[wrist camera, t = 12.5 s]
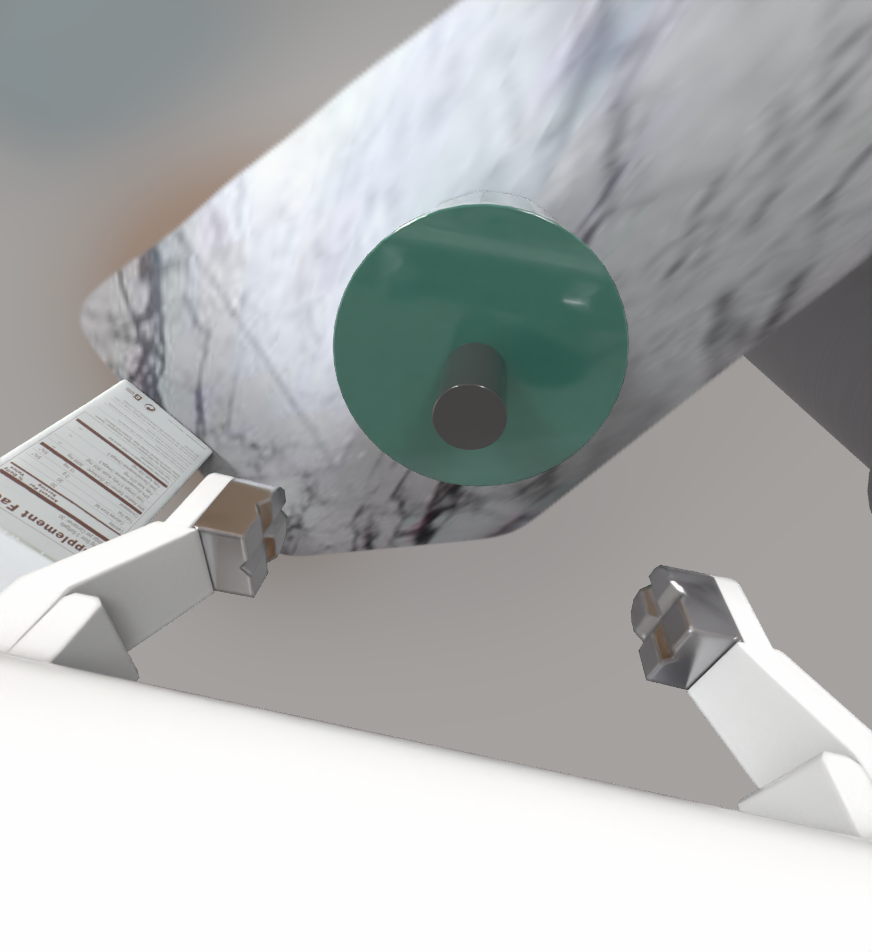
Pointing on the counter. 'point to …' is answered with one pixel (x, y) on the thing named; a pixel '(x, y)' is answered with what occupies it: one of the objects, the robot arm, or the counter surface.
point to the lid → (480, 344)
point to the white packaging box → (91, 479)
